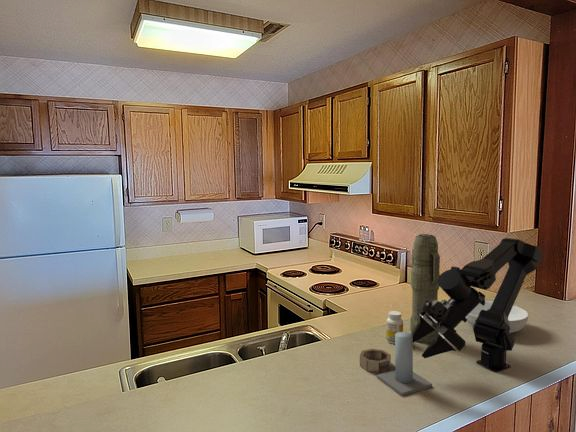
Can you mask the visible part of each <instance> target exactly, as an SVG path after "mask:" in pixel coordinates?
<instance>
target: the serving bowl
mask: <svg viewBox="0 0 576 432" xmlns="http://www.w3.org/2000/svg"><path fill="white" fill-rule="evenodd" d="M493 301H494V300H493ZM493 301H492V300H490V301H489V300H485V305H484V306H483V305H481V304H480V303H479V304H478V305H477V306H476V307H475V308H474V309H473V310H472V311H471V312H470V313H469V314H468V315H467V316H466V317H465V318H466V319H467V321H466V323H468V324H469V325H470V326H472V327H473V326H474V324H475V320H476V319H477V318H478V316H479V313H480V311H481V310H486V311H487V310H488V309H490V308H491V306H492V303H493ZM508 320H509V324H510V331H509V333H510V334H512V333H515V332H518V331H521V330H522V329H523V328H524V327H526V325H527V323H528V320H529V313H528V311H526V310H525V309H524V308H521V307H519V306H517V305H513V307H512V309H511V312H510V314H509V316H508Z"/></svg>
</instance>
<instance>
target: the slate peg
mask: <svg viewBox="0 0 576 432" xmlns="http://www.w3.org/2000/svg"><path fill="white" fill-rule="evenodd" d="M413 345H414V343H413V335H412V334H411V332H410V333H409V332H406V331H403V332H398V333H396V334H395V344H394V347H395V348H394V351H395V352H394V354H395V356H394V358H395V359H394V361H395V362H394V364H395V365H394V366H395V368H394V369H395V379H396V380H397V381H398V382H400V383H411V382H412V381H413V372H414V370H413V368H414V367H413V366H414V362H413V361H414V359H413V358H414V357H413V355H414V353H413V350H414V349H413V347H414V346H413Z"/></svg>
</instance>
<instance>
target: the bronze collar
mask: <svg viewBox="0 0 576 432" xmlns="http://www.w3.org/2000/svg"><path fill="white" fill-rule="evenodd" d="M391 365H392V355H391V354H390V353H389V352H387V351H385V350H383V349H376V348H369V349H365V350H361V351H360V354H359V367H361V368H362V369H363V370H364V371H366V372H370V373H377V374H382V373H386V372H390V371H391V370H390V369H391Z"/></svg>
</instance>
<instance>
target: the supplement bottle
mask: <svg viewBox="0 0 576 432" xmlns="http://www.w3.org/2000/svg"><path fill="white" fill-rule="evenodd" d="M385 326H386V328H385V331H386V337H385V341H386V342H388V343H389V344H391V345H395V334H396V333H398V332H404V320H403V318H402V313H401V311H397V310H391V311H388V318H387V319H386V325H385Z"/></svg>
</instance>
